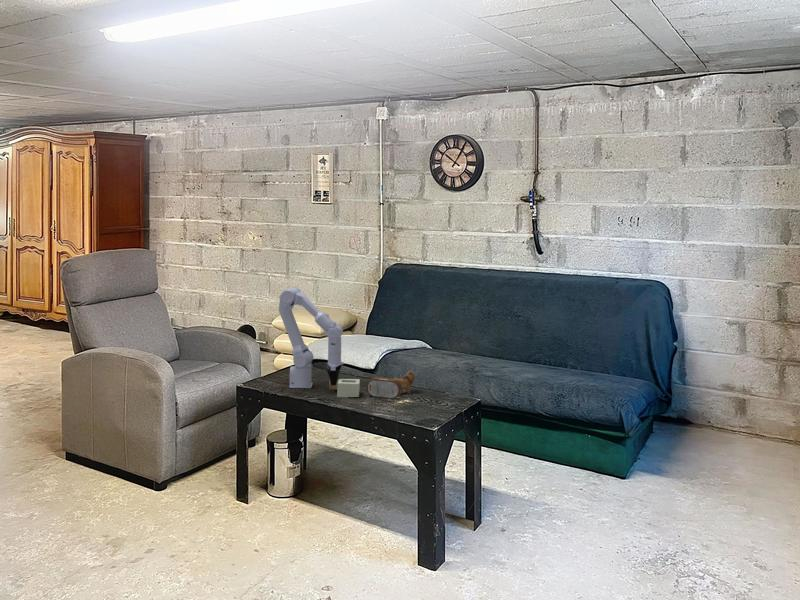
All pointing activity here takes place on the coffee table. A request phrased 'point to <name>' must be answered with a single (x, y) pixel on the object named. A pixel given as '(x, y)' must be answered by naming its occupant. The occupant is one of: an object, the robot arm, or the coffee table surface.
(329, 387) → the block
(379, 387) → the tin
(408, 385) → the lion figurine
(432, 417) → the coffee table surface
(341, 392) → the box
